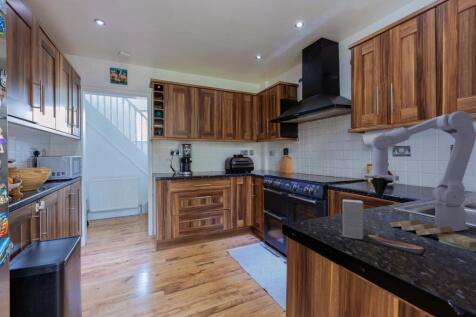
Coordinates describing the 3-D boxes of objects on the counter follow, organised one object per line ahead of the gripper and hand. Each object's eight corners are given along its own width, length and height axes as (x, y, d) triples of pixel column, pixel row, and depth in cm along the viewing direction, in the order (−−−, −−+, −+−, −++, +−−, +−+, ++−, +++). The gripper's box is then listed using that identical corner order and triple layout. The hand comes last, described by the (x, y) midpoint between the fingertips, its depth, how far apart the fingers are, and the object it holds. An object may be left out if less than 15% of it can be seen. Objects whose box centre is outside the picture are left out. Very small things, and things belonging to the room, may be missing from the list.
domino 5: (448, 241, 72) (482, 251, 65) (439, 243, 71) (472, 253, 63) (448, 236, 72) (482, 245, 65) (439, 238, 71) (472, 247, 63)
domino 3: (415, 230, 77) (438, 227, 70) (427, 229, 78) (450, 226, 71) (417, 235, 76) (441, 232, 69) (429, 234, 77) (453, 231, 70)
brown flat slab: (369, 234, 76) (425, 247, 65) (368, 236, 76) (425, 250, 65) (360, 238, 71) (420, 254, 60) (360, 241, 71) (420, 257, 60)
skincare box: (362, 236, 75) (362, 200, 75) (363, 240, 71) (363, 202, 71) (342, 233, 77) (342, 198, 77) (342, 237, 73) (342, 201, 73)
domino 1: (390, 222, 86) (409, 220, 79) (399, 221, 88) (420, 219, 80) (391, 226, 86) (411, 225, 78) (401, 225, 87) (421, 224, 80)
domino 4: (437, 233, 71) (469, 242, 63) (449, 231, 72) (481, 240, 64) (437, 238, 71) (469, 247, 63) (449, 236, 72) (481, 246, 64)
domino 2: (400, 226, 82) (422, 224, 75) (411, 225, 83) (433, 223, 76) (402, 230, 81) (424, 229, 74) (412, 229, 83) (435, 228, 76)
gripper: (358, 163, 99) (357, 194, 99) (390, 164, 86) (389, 199, 86) (369, 163, 102) (369, 193, 102) (402, 164, 88) (402, 199, 88)
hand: (379, 196), depth 94 cm, fingers closed
